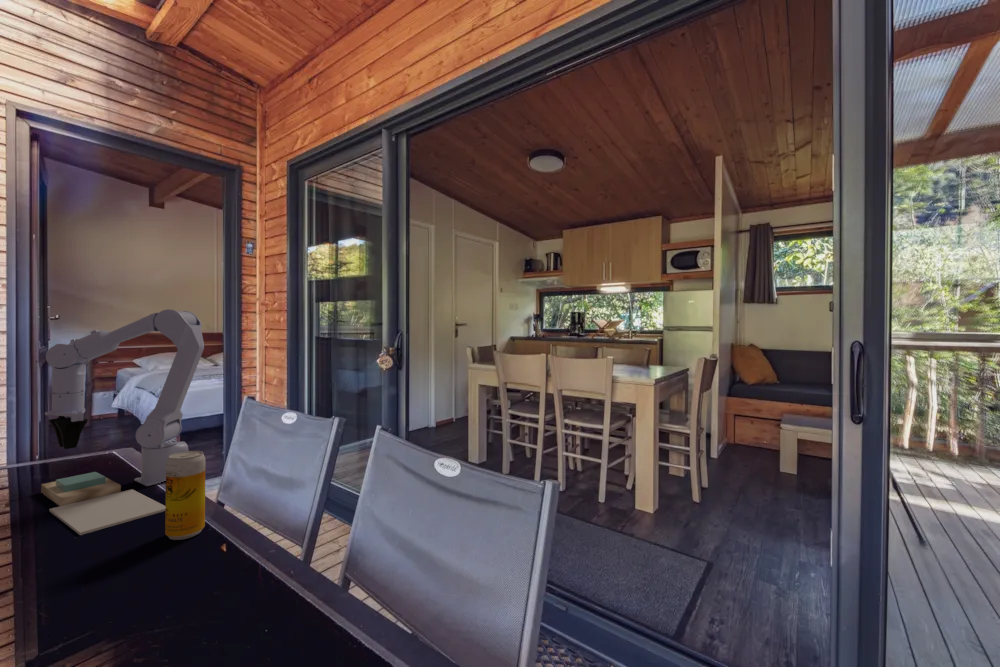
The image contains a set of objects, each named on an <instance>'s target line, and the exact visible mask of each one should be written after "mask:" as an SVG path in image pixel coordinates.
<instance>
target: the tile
mask: <svg viewBox="0 0 1000 667" xmlns="http://www.w3.org/2000/svg"><path fill="white" fill-rule="evenodd" d="M106 478H107V477H106V476H105V475H103V474H101V473H99V472H97V471H92V472H88V473H83V474H77V475H73V476H69V477H63V478H57V479H55V481H56V487H58V488H59V489H61V490H63V491H64V492H68V491H72V490H77V489H82V488H86V487H91V486H95V485H100V484H104V483H106Z"/></svg>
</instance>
